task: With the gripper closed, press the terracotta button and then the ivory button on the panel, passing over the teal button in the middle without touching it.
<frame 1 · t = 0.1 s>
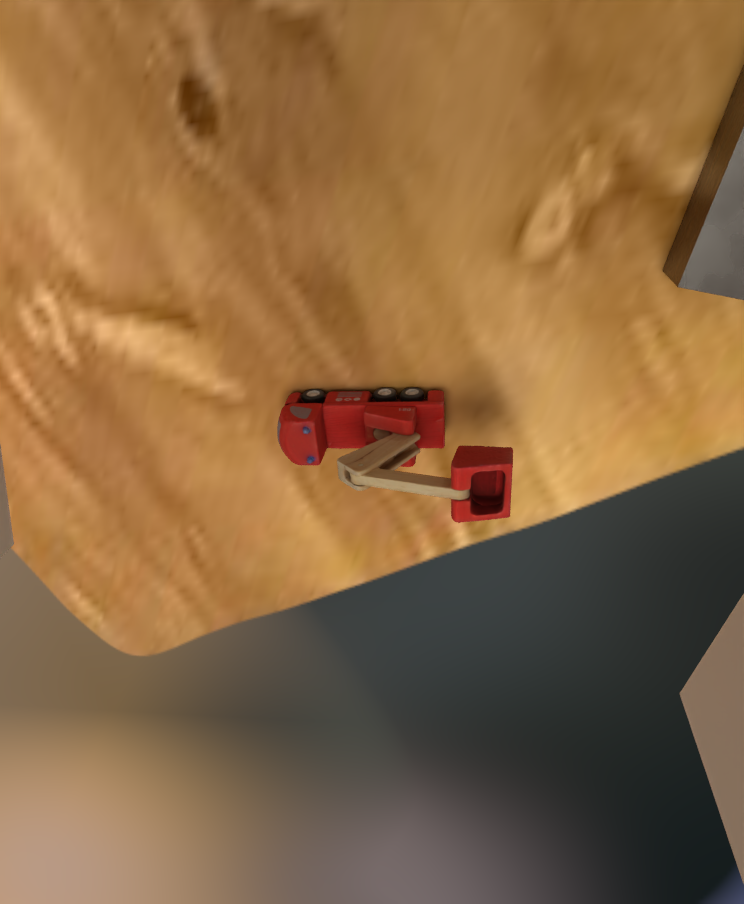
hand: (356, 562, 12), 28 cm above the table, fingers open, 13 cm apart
toy fire truck: (394, 409, 42), on the table
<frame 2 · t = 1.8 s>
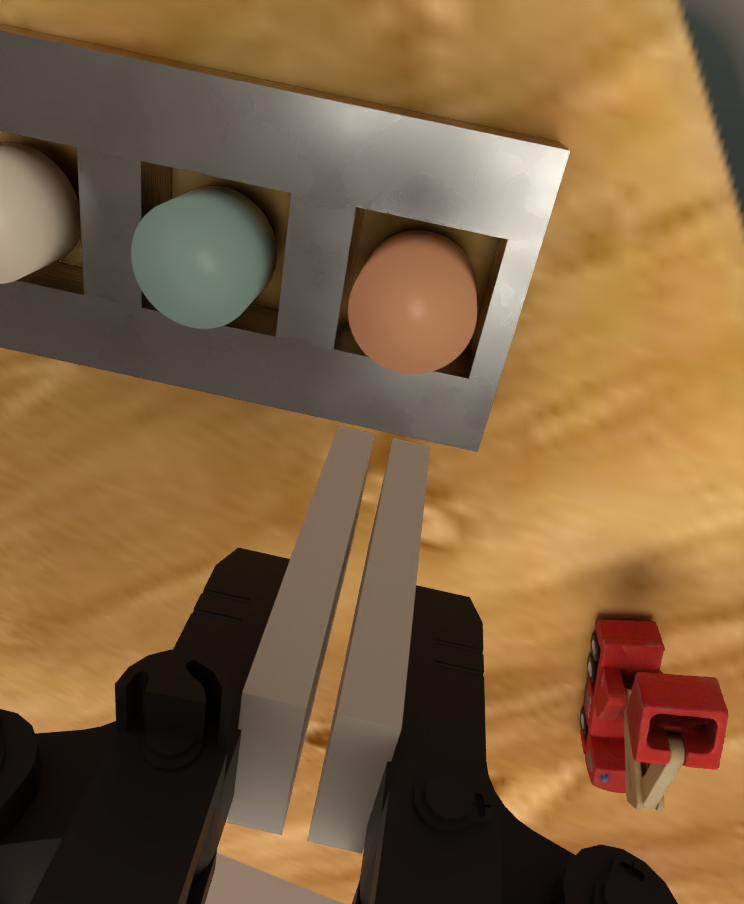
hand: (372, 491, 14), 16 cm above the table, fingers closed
button ivory: (2, 212, 25), point 4 cm above the table, slide at 0.0 cm
panel: (235, 236, 28), on the table
button teal: (207, 257, 25), point 4 cm above the table, slide at 0.0 cm
button terracotta: (414, 301, 25), point 4 cm above the table, slide at 0.0 cm
toy fire truck: (617, 652, 37), on the table
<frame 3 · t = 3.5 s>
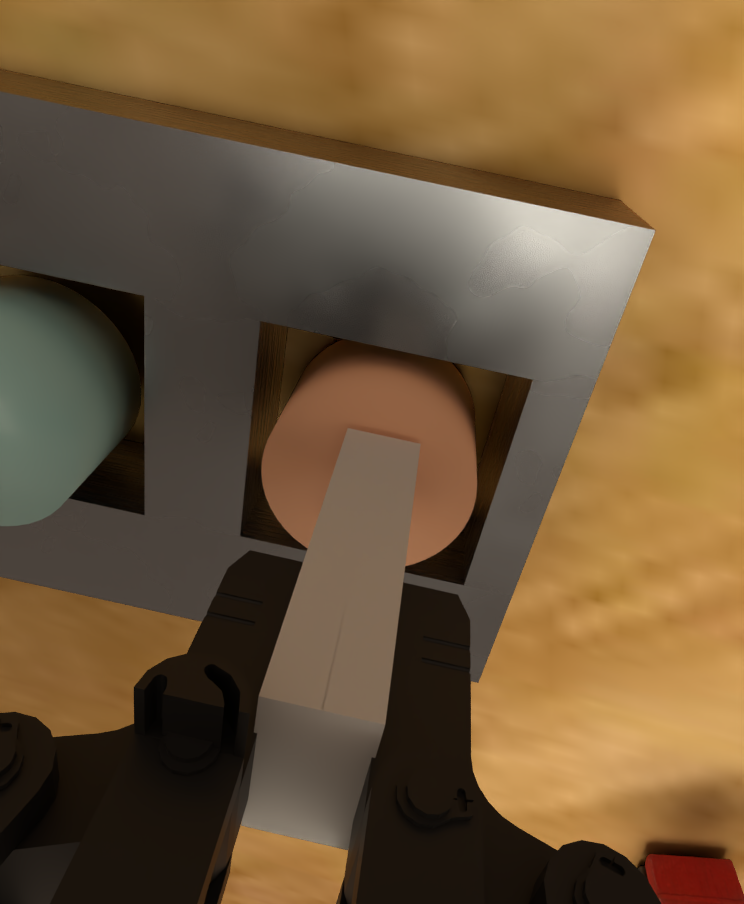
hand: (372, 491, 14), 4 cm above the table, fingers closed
panel: (88, 341, 17), on the table
button teal: (9, 399, 14), point 4 cm above the table, slide at 0.0 cm
button terracotta: (375, 449, 15), point 2 cm above the table, slide at 1.2 cm, touching gripper
toy fire truck: (672, 883, 27), on the table
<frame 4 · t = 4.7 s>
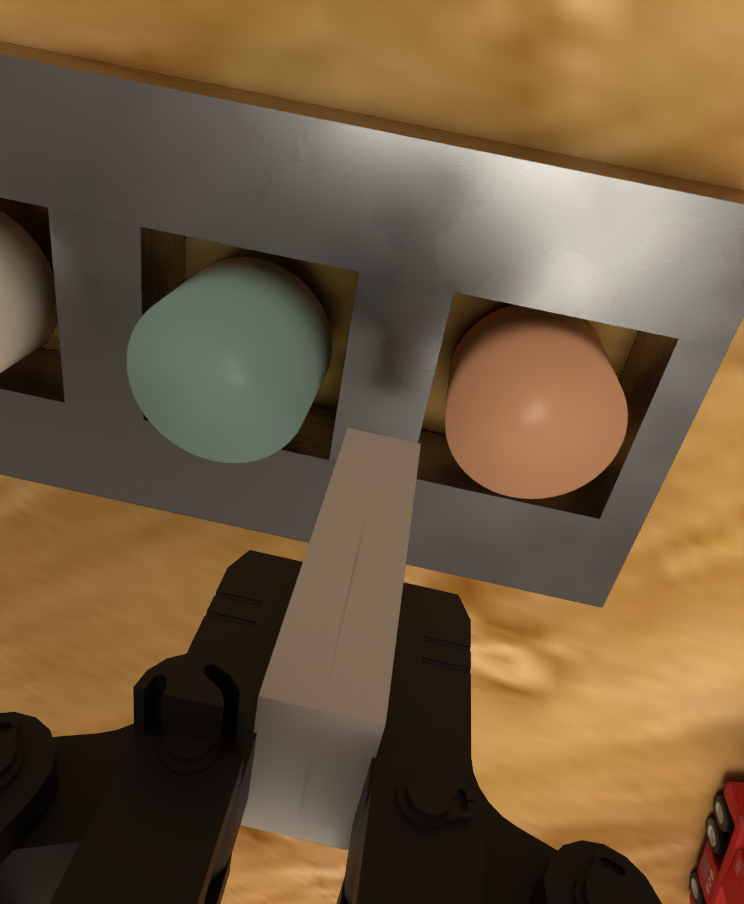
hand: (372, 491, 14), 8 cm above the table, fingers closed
panel: (271, 316, 20), on the table
button teal: (236, 359, 17), point 4 cm above the table, slide at 0.0 cm
button terracotta: (530, 400, 18), point 2 cm above the table, slide at 1.4 cm
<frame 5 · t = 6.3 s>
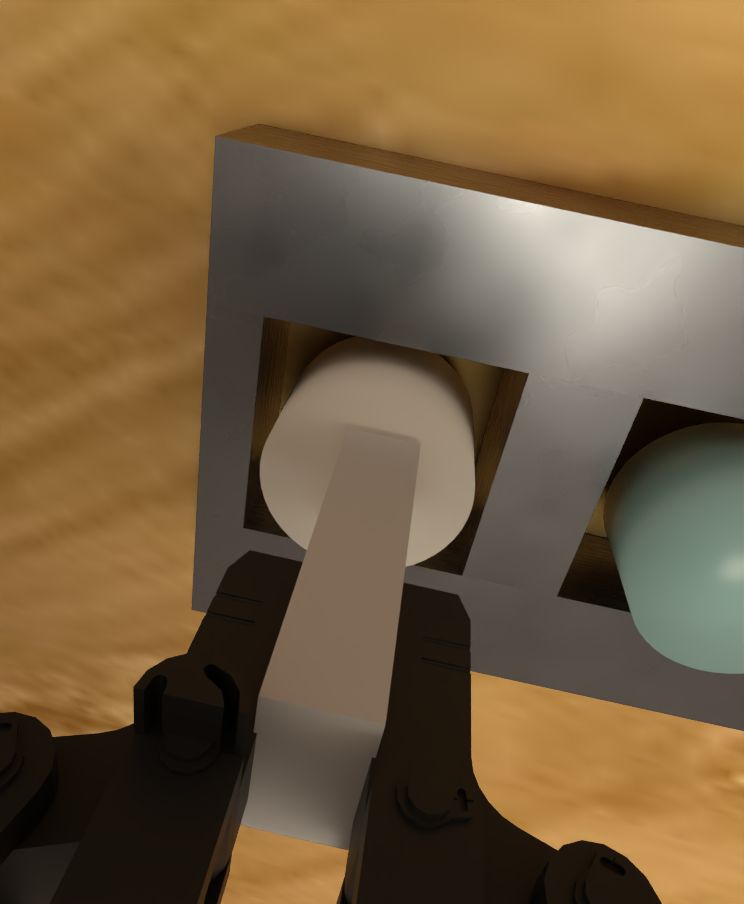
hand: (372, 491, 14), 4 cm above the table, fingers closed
button ivory: (373, 451, 15), point 3 cm above the table, slide at 0.8 cm, touching gripper
panel: (679, 464, 18), on the table
button teal: (724, 546, 15), point 4 cm above the table, slide at 0.0 cm
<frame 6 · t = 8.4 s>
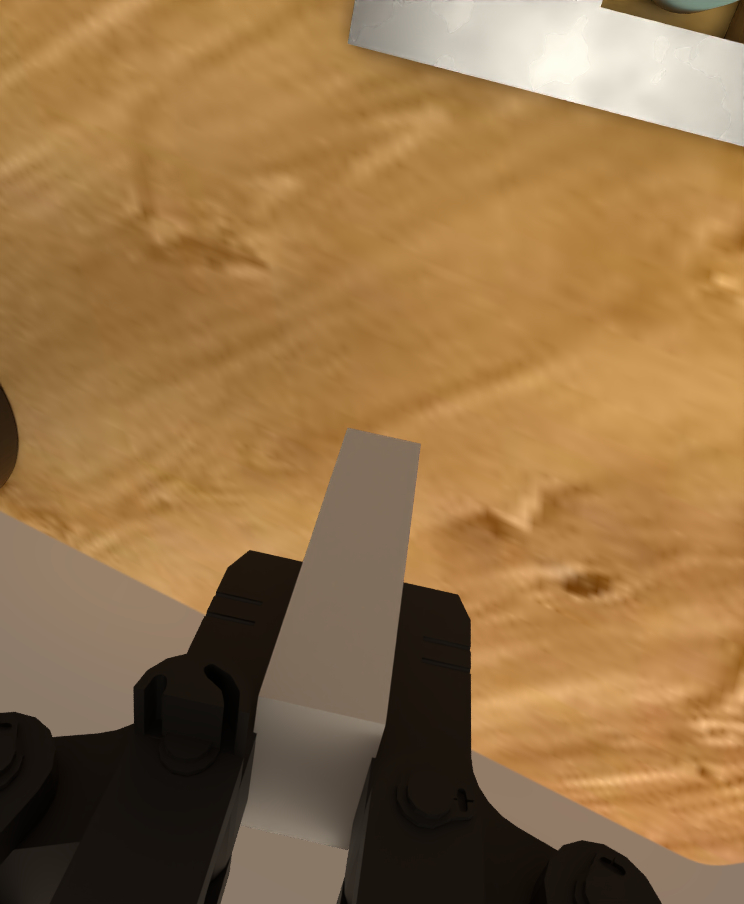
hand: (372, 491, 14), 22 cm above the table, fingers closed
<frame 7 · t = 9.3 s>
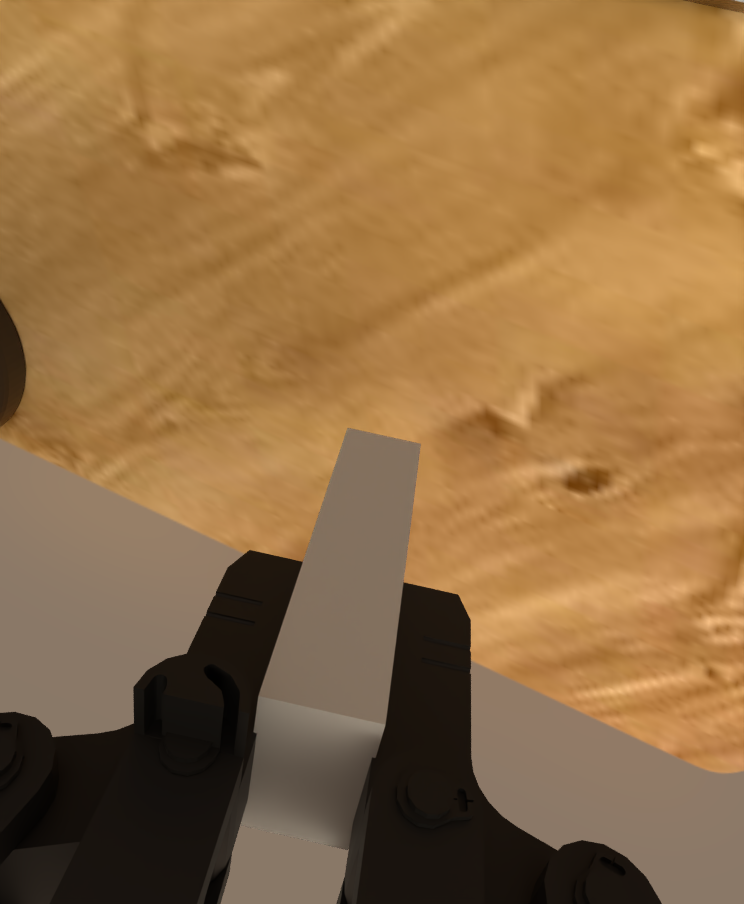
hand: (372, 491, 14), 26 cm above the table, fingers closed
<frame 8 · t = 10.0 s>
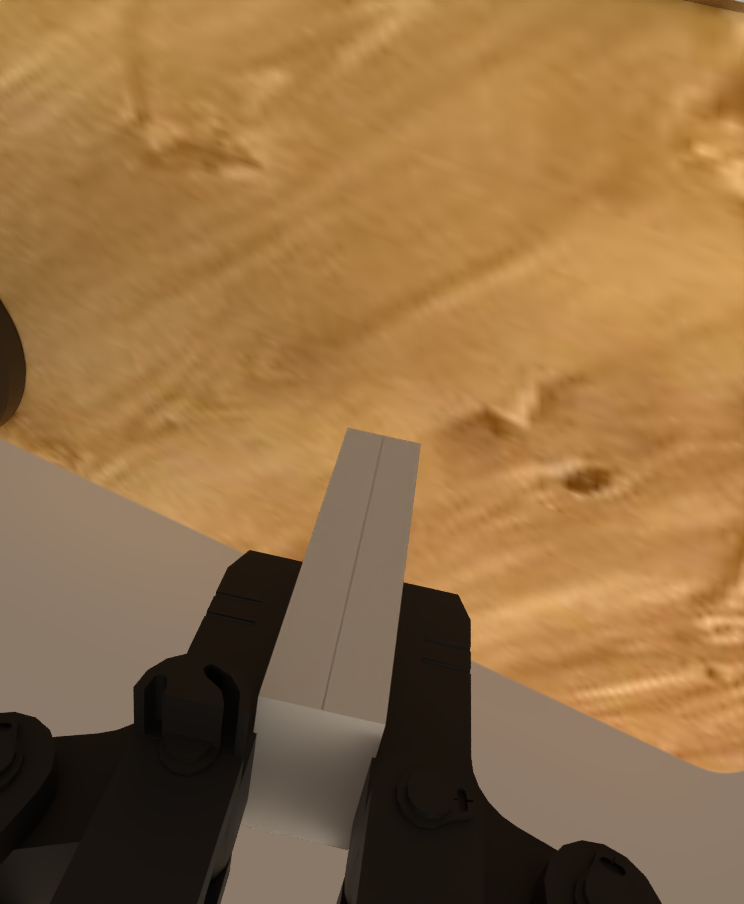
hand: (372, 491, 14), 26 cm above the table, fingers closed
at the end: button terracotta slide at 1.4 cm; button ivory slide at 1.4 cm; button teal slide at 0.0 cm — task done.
